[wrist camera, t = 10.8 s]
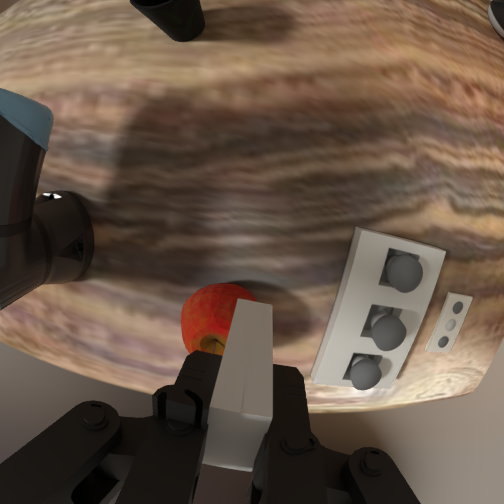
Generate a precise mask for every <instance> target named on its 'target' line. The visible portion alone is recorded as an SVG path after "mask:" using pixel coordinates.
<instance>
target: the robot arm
mask: <svg viewBox="0 0 504 504" xmlns="http://www.w3.org/2000/svg"><path fill="white" fill-rule="evenodd" d="M53 122H54V117H53V113H52V111H51V110H50V109H49V108H48V107H47V106H45V105H43V104H41V103H39V102H37V101H34V100H32V99H29V98H27V97H25V96H22V95H19V94H17V93H14V92H11V91H8V90H5V89H2V88H0V310H2V309H3V308H5V307H7V306H8V305H10V304H11V303H13V302H14V301H16V300H18V299H19V298H21V297H22V296H24V295H26V294H27V293H29V292H31V291H32V290H34V289H35V288H37V287H39V286H41V285H43V284H63V283H67V282H70V281H72V280H74V279H76V278H77V277H79V276H81V275H82V274H83V273H84V272H85V271H86V269H87V268H88V266H89V264H90V262H91V259H92V255H93V248H94V236H93V229H92V225H91V222H90V219H89V216H88V214H87V212H86V210H85V208H84V207H83V205H82V204H81V203H80V201H79V200H78V199H77V198H76V197H74V196H73V195H71V194H70V193H68V192H65V191H51V192H46V193H43V194H41V195H39V196H38V197H37V198H36V192H37V187H38V182H39V178H40V173H41V169H42V165H43V162H44V158H45V154H46V151H48V142H49V138H50V134H51V130H52V126H53ZM152 399H153V400H152V402H153V415H152V416H149V417H144V418H133V417H121V416H119V415H118V413H117V411H116V410H115V409H114V408H113V407H111V406H110V405H108V404H106V403H104V402H100V401H86V402H82V403H80V404H78V405H76V406H75V407H74V408H72V409H71V410H70V411H69V412H67V413H66V414H65V415H64V416H62V417H61V418H60V419H58V420H57V421H56V422H54V423H53V424H52V425H51V426H49V427H48V428H47V429H45V430H44V431H43V432H41V433H40V434H39V435H38V436H36V437H35V438H34V439H32V440H31V441H30V442H28V443H27V444H26V445H25V446H23V447H22V448H21V449H20V450H18V451H17V452H15V453H14V454H13V455H12V456H10V457H9V458H8V459H6V460H5V461H4V462H2V463H1V464H0V504H108V503H109V502H110V501H111V500H112V499H113V498H114V496H115V495H116V494H117V493H118V492H119V491H120V490H121V491H120V493H119V496H118V498H117V500H116V503H115V504H193V502H194V498H195V494H196V489H197V484H198V481H199V475H200V469H201V465H202V463H204V464H209V465H214V466H219V467H225V468H230V469H237V470H243V471H252V469H253V467H254V472H253V479H252V481H251V483H250V485H249V488H248V490H247V492H246V495H245V496H246V497H249V498H248V504H421V503H420V502H419V500H418V499H417V497H416V496H415V494H414V493H413V491H412V489H411V488H410V486H409V485H408V483H407V482H406V480H405V478H404V477H403V475H402V474H401V473H400V471H399V469H398V468H397V466H396V465H395V463H394V461H393V460H392V459H391V457H390V456H389V455H388V454H387V453H385V452H384V451H382V450H380V449H377V448H373V447H364V448H360V449H358V450H356V451H354V453H353V454H352V455H347V454H344V453H340V452H336V451H333V450H330V449H327V448H325V447H324V446H322V445H321V444H320V443H319V441H318V439H317V437H315V435H314V434H313V433H312V432H311V430H310V422H309V413H308V406H307V399H306V391H305V384H304V377H303V376H302V374H301V373H300V372H299V370H298V369H297V367H290V366H283V365H277V364H273V318H272V305H270V304H265V303H259V302H254V301H249V300H244V299H239V298H238V300H237V304H236V308H235V312H234V315H233V319H232V323H231V327H230V331H229V334H228V338H227V342H226V346H225V350H224V353H223V356H222V355H217V354H213V353H208V352H204V351H199V350H195V351H194V352H192V353H191V354H190V355H188V356H187V357H186V359H185V361H184V364H183V366H182V368H181V370H180V373H179V376H178V377H177V379H176V382H175V384H174V385H166V386H164V387H162V388H160V389H158V390H157V391H156V392H155V393H154V394H153V395H152ZM121 488H122V489H121Z"/></svg>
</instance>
